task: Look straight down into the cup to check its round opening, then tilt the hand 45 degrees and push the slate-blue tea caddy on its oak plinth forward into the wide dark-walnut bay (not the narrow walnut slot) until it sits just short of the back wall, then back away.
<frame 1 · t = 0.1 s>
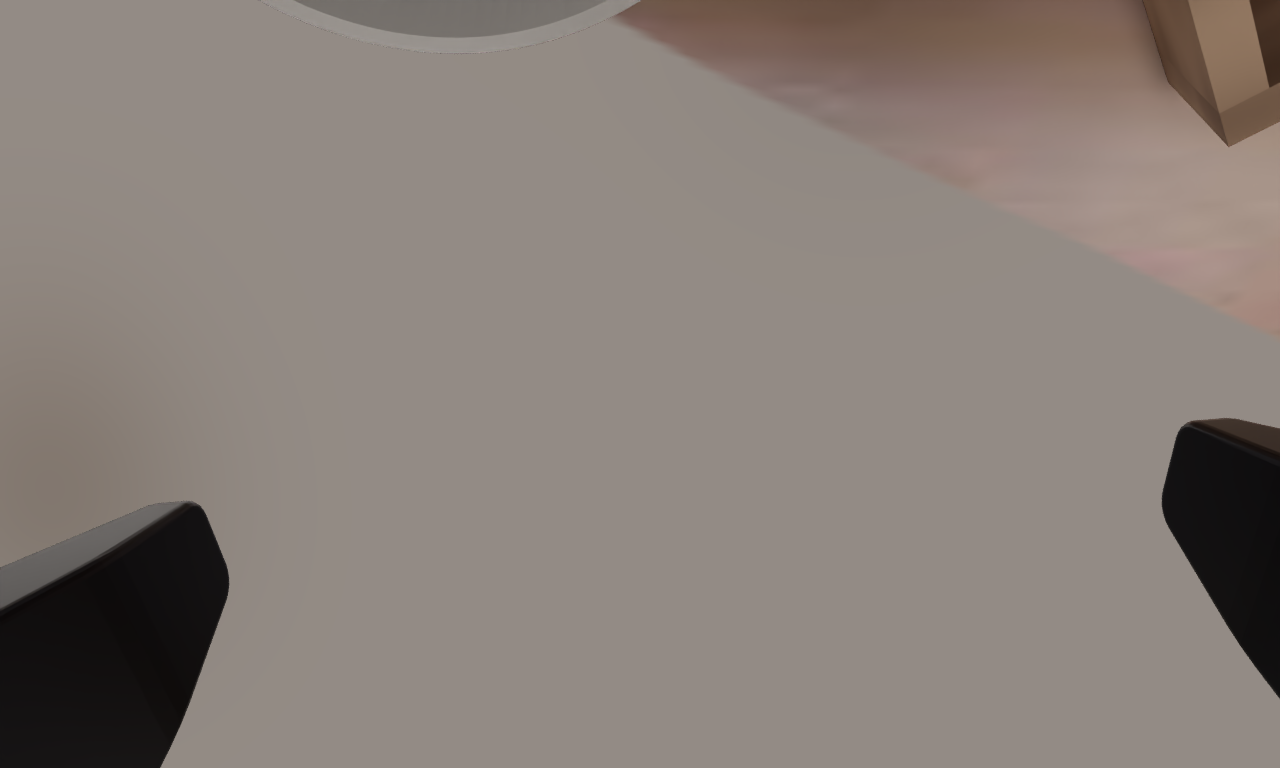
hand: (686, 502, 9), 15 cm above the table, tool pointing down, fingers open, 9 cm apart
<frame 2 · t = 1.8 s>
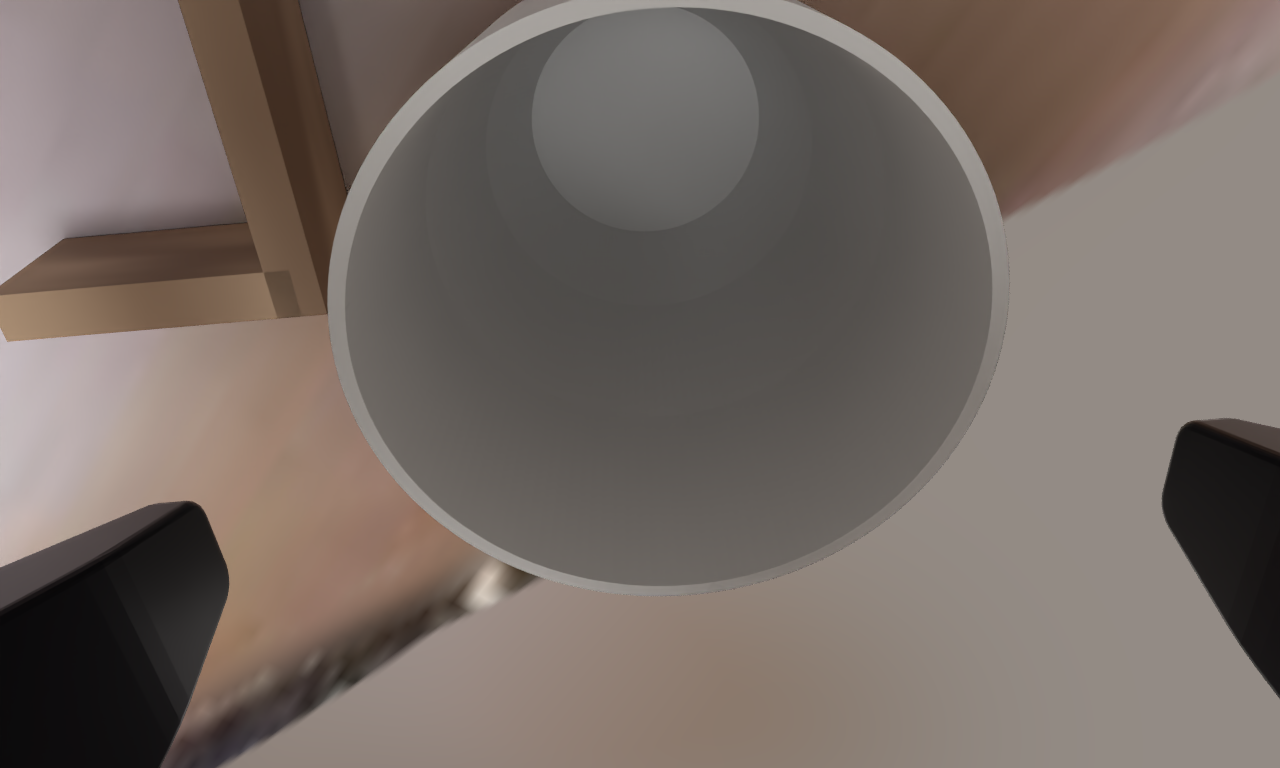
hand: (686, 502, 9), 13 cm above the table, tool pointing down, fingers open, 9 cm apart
cup: (646, 121, 20), on the table
narrow slot: (148, 90, 19), on the table
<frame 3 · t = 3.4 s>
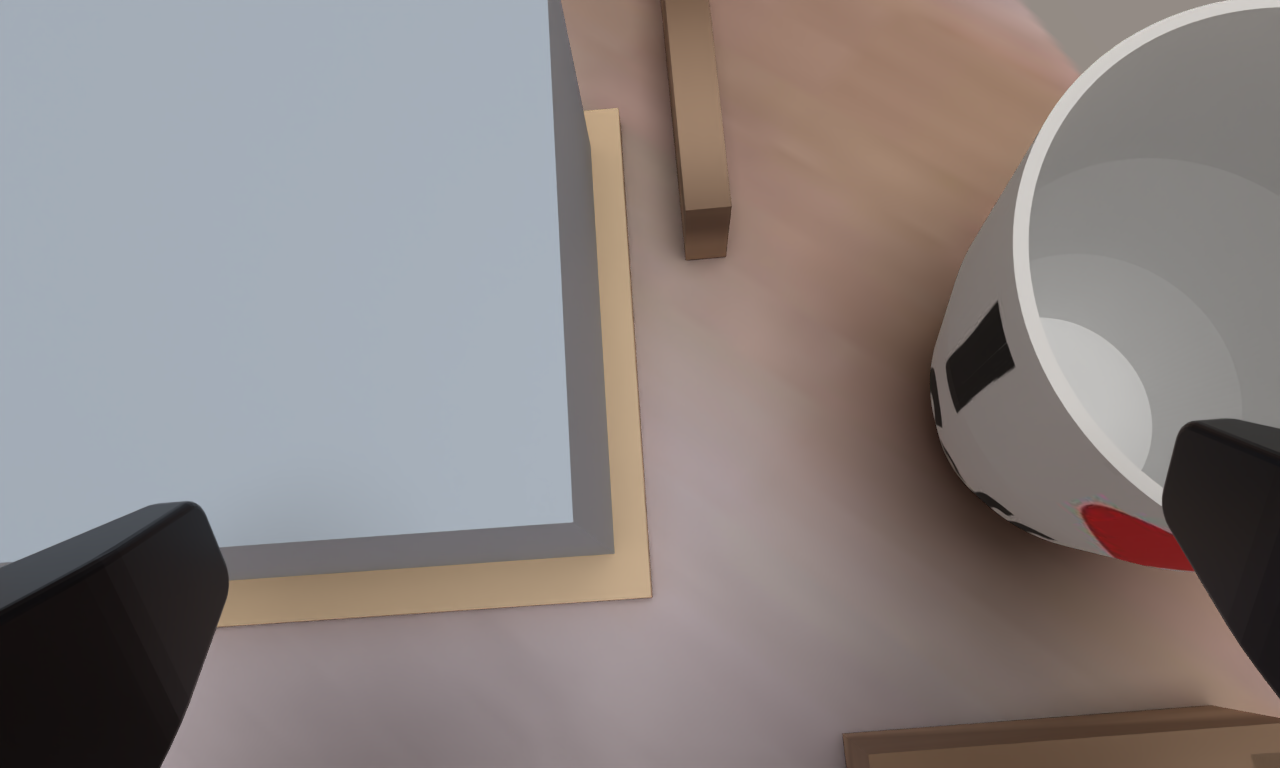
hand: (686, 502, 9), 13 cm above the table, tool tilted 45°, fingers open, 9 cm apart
bay: (375, 119, 25), on the table
tea caddy: (385, 367, 23), on the table
cup: (1042, 417, 22), on the table
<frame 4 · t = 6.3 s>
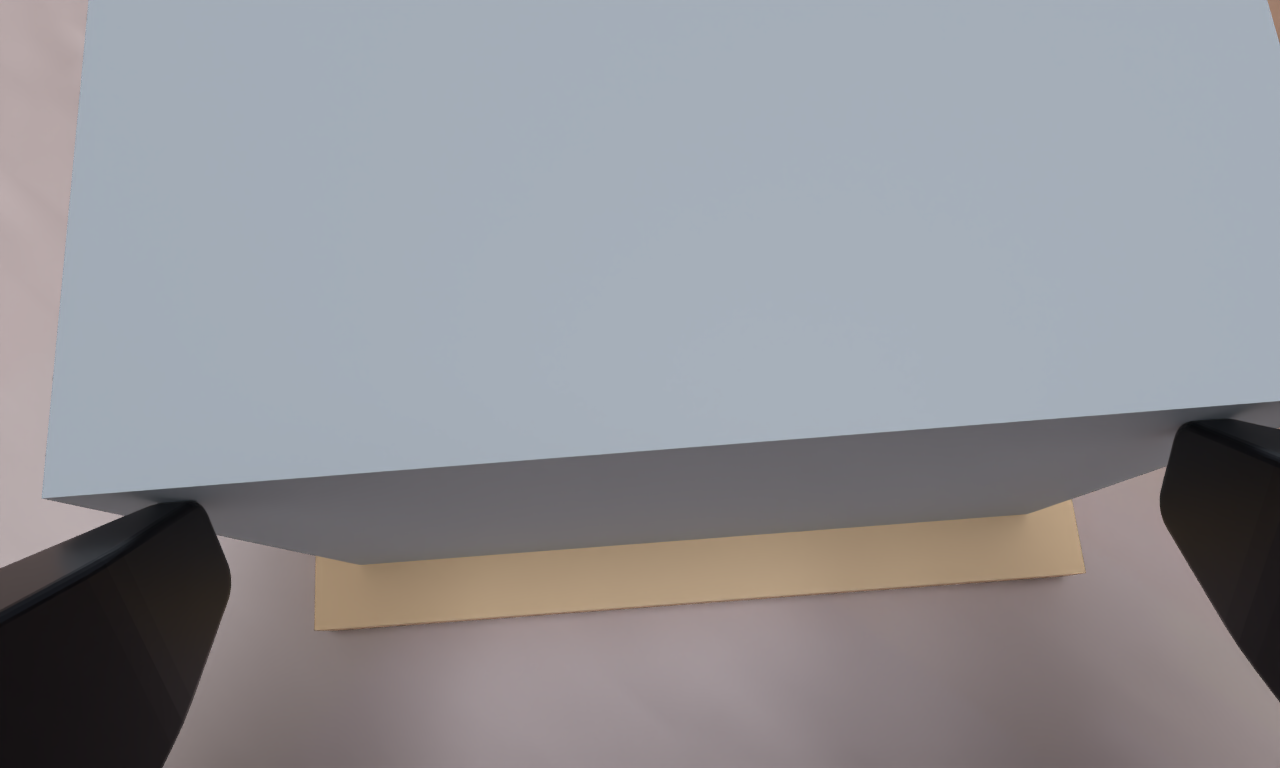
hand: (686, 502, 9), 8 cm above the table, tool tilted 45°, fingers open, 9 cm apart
tea caddy: (667, 277, 18), on the table, touching gripper
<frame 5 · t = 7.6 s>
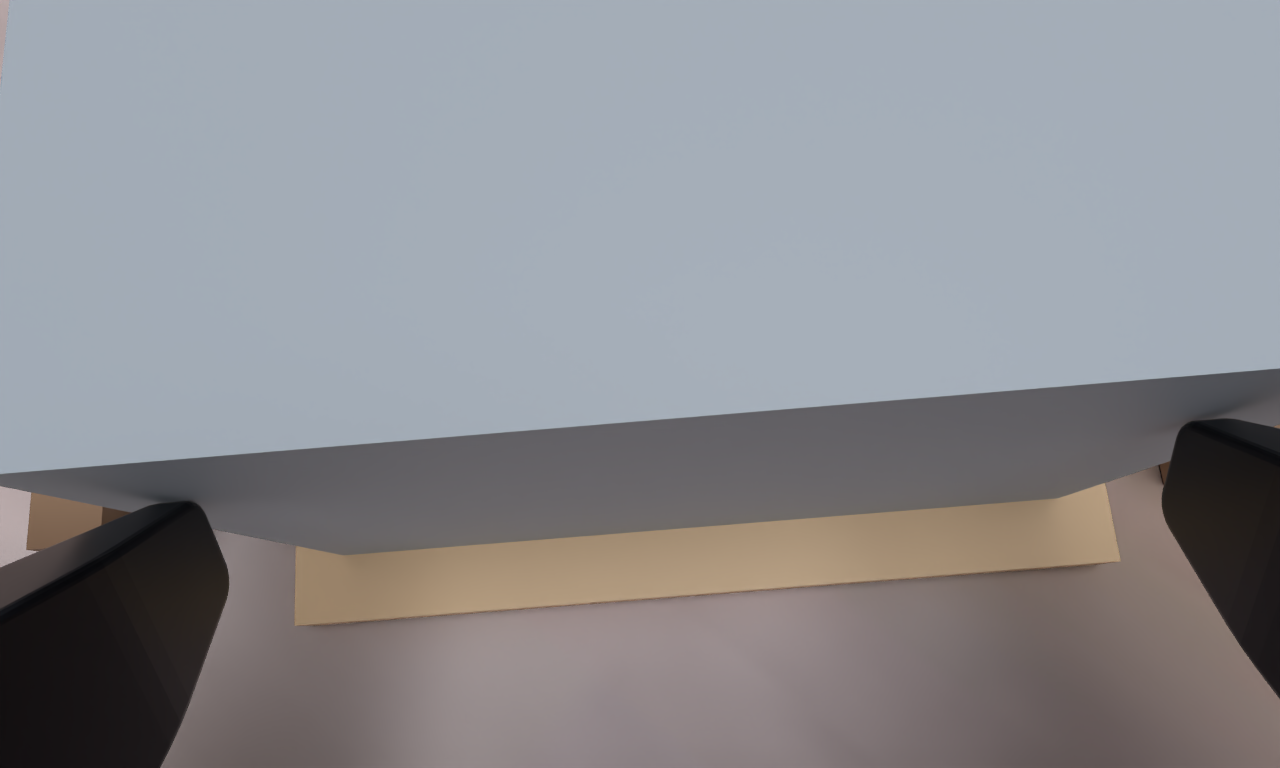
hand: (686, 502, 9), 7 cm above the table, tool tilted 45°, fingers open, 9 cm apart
bay: (658, 252, 16), on the table
tea caddy: (671, 249, 17), on the table
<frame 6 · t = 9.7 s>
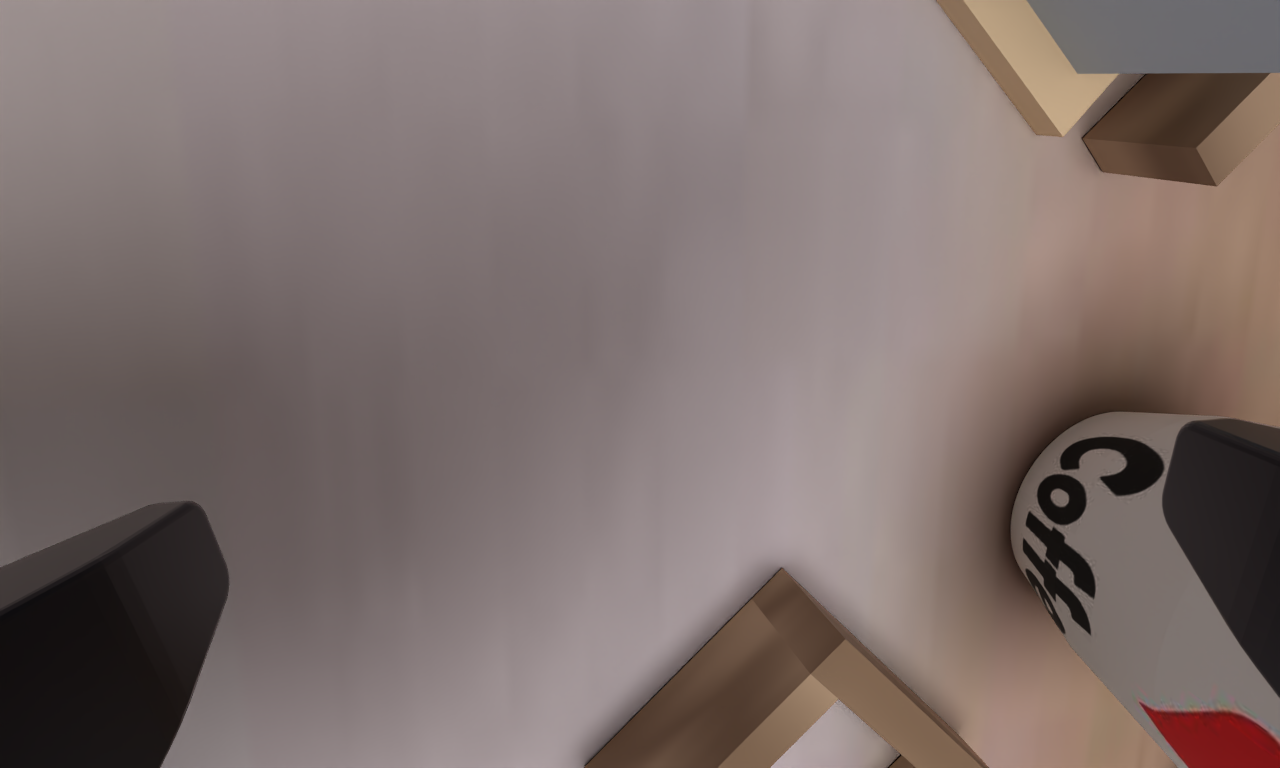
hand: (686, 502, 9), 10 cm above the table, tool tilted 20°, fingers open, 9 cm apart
cup: (1090, 501, 24), on the table
narrow slot: (777, 757, 23), on the table
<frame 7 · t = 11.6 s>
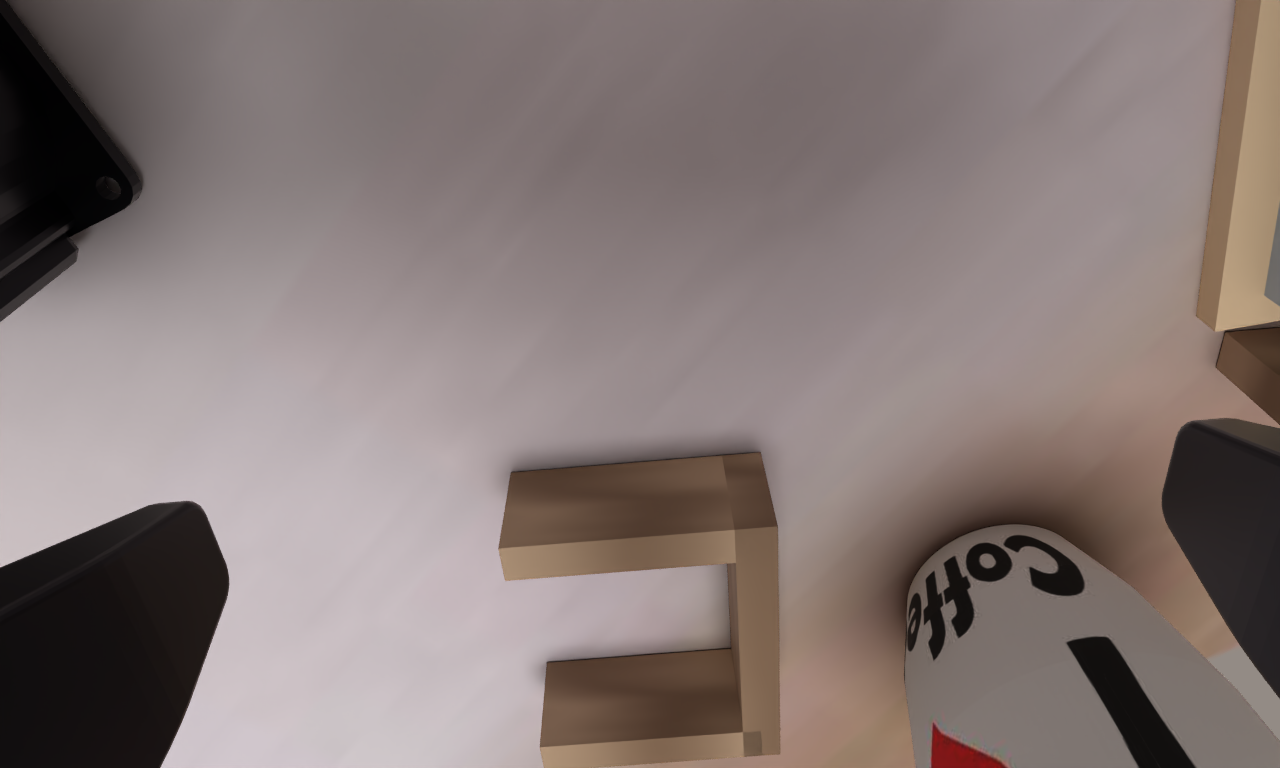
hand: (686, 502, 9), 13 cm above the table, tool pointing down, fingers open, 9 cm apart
cup: (993, 588, 27), on the table
narrow slot: (638, 579, 26), on the table
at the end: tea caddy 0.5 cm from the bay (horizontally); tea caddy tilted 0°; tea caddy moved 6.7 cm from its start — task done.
